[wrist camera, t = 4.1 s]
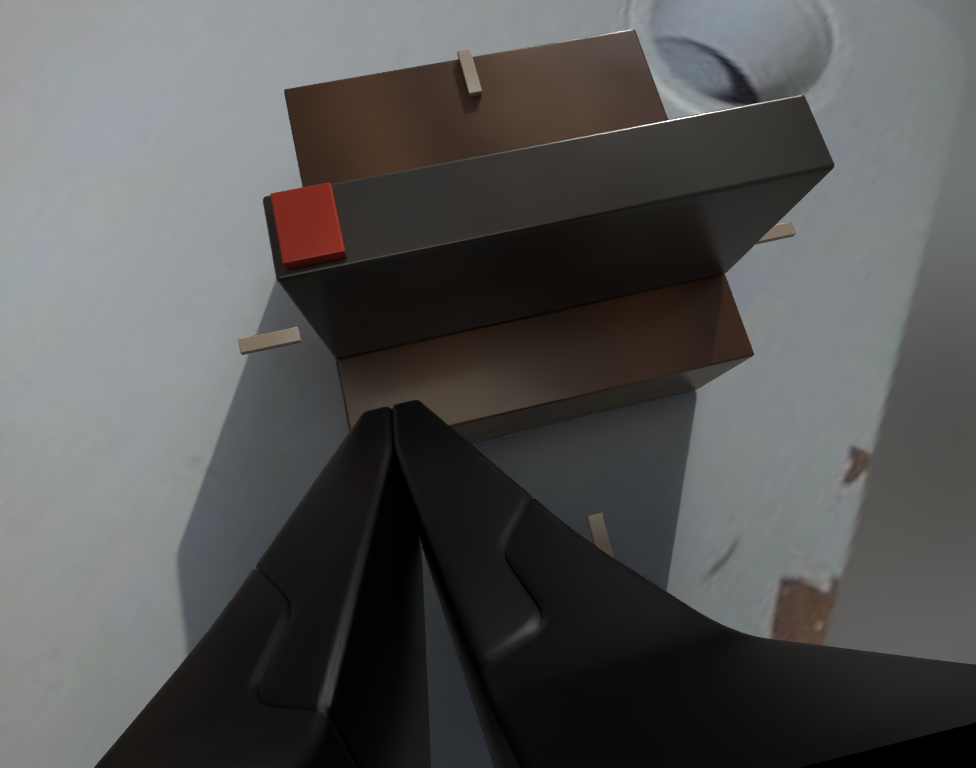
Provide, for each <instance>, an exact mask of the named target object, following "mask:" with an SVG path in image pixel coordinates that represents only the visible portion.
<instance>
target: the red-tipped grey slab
mask: <svg viewBox="0 0 976 768" xmlns="http://www.w3.org/2000/svg"><path fill="white" fill-rule="evenodd" d="M833 168H834V163H833V160H832V158H831V156H830V153H829V151H828V149H827V147H826V144H825V142H824V140H823V137H822V135H821V133H820V130H819V128H818V126H817V124H816V121H815V119H814V117H813V114H812V112H811V110H810V107H809V105H808V103H807V101H806V98H805V96H804V95H797V96H792V97H787V98H782V99H776V100H771V101H766V102H761V103H755V104H750V105H745V106H740V107H734V108H729V109H724V110H718V111H713V112H708V113H703V114H697V115H692V116H687V117H682V118H676V119H671V120H666V121H661V122H655V123H650V124H645V125H640V126H634V127H629V128H624V129H618V130H613V131H608V132H603V133H597V134H592V135H587V136H582V137H576V138H571V139H566V140H561V141H555V142H550V143H545V144H540V145H534V146H529V147H524V148H518V149H513V150H508V151H503V152H497V153H492V154H487V155H482V156H476V157H471V158H466V159H461V160H455V161H450V162H445V163H440V164H434V165H429V166H424V167H418V168H413V169H408V170H403V171H397V172H392V173H387V174H382V175H376V176H371V177H366V178H361V179H355V180H350V181H345V182H340V183H334V184H330V183H324V184H318V185H313V186H308V187H303V188H297V189H292V190H287V191H282V192H276V193H271V195H270V196H266V197H264V198H263V205H264V211H265V216H266V222H267V228H268V234H269V239H270V245H271V251H272V257H273V262H274V268H275V274H276V279H277V281H278V282H279V283H280V285H281V286H282V287H283V289H284V290H285V291H286V293H287V294H288V295H289V297H290V298H291V299H292V301H293V302H294V303H295V305H296V306H297V307H298V309H299V310H300V312H301V313H302V314H303V316H304V317H305V318H306V320H307V321H308V322H309V324H310V325H311V326H312V328H313V329H314V330H315V332H316V333H317V334H318V336H319V337H320V338H321V340H322V341H323V342H324V344H325V345H326V346H327V348H328V349H329V350H330V352H331V353H332V354H333V356H334V357H335V358H340V357H345V356H350V355H354V354H359V353H363V352H368V351H372V350H377V349H381V348H386V347H391V346H395V345H400V344H404V343H409V342H413V341H418V340H423V339H427V338H432V337H436V336H441V335H445V334H450V333H454V332H459V331H464V330H468V329H473V328H477V327H482V326H486V325H491V324H495V323H500V322H505V321H509V320H514V319H518V318H523V317H527V316H532V315H536V314H541V313H546V312H550V311H555V310H559V309H564V308H568V307H573V306H577V305H582V304H587V303H591V302H596V301H600V300H605V299H609V298H614V297H619V296H623V295H628V294H632V293H637V292H641V291H646V290H650V289H655V288H660V287H664V286H669V285H673V284H678V283H682V282H687V281H691V280H696V279H701V278H705V277H710V276H714V275H719V274H723V273H726V272H727V271H729V270H730V269H731V268H732V267H733V266H734V265H735V264H736V263H737V262H738V261H739V260H740V259H741V258H742V257H743V256H744V255H745V254H746V253H747V252H748V251H749V250H750V249H751V248H752V247H753V246H754V245H755V244H756V243H757V242H758V241H759V240H760V239H761V238H762V237H763V236H764V235H765V234H766V233H767V232H768V231H770V230H771V229H772V228H773V227H774V226H775V225H776V224H777V223H778V222H779V221H780V220H781V219H782V218H783V217H784V216H785V215H786V214H787V213H788V212H789V211H790V210H791V209H792V208H793V207H794V206H795V205H796V204H797V203H798V202H799V201H800V200H801V199H802V198H803V197H804V196H805V195H806V194H807V193H808V192H810V191H811V190H812V189H813V188H814V187H815V186H816V185H817V184H818V183H819V182H820V181H821V180H822V179H823V178H824V177H825V176H826V175H827V174H828V173H829V172H830V171H831V170H832V169H833Z"/></svg>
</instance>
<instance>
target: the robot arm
mask: <svg viewBox="0 0 976 768" xmlns="http://www.w3.org/2000/svg"><path fill="white" fill-rule="evenodd" d="M420 540H421V543H422V547H423V550H424V554H425V557H426V561H427V564H428V567H429V570H430V573H431V576H432V579H433V582H434V585H435V588H436V591H437V594H438V597H439V600H440V603H441V606H442V610H443V613H444V616H445V619H446V622H447V625H448V628H449V631H450V634H451V637H452V640H453V643H454V646H455V649H456V652H457V655H458V658H459V661H460V664H461V667H462V670H463V674H464V677H465V680H466V683H467V686H468V689H469V692H470V695H471V698H472V701H473V704H474V707H475V710H476V713H477V716H478V719H479V722H480V725H481V728H482V731H483V734H484V738H485V741H486V744H487V747H488V750H489V753H490V756H491V759H492V762H493V765H494V768H976V665H974V664H963V663H955V662H948V661H940V660H932V659H923V658H915V657H907V656H900V655H893V654H885V653H877V652H869V651H860V650H853V649H845V648H837V647H830V646H822V645H814V644H806V643H798V642H790V641H783V640H775V639H767V638H761V637H755V636H752V635H748V634H745V633H742V632H739V631H737V630H734V629H731V628H729V627H726V626H724V625H722V624H720V623H718V622H716V621H714V620H712V619H710V618H708V617H706V616H705V615H703V614H701V613H699V612H698V611H696V610H694V609H693V608H691V607H690V606H688V605H686V604H685V603H683V602H682V601H680V600H679V599H677V598H676V597H674V596H672V595H671V594H669V593H668V592H666V591H665V590H663V589H662V588H660V587H658V586H657V585H655V584H654V583H652V582H651V581H649V580H647V579H646V578H644V577H643V576H641V575H640V574H638V573H637V572H635V571H633V570H632V569H630V568H629V567H627V566H626V565H624V564H622V563H621V562H619V561H618V560H616V559H615V558H613V557H612V556H610V555H608V554H607V553H606V552H604V551H603V550H601V549H600V548H598V547H597V546H595V545H594V544H592V543H591V542H589V541H588V540H586V539H585V538H583V537H582V536H581V535H579V534H578V533H576V532H575V531H574V530H572V529H571V528H570V527H569V526H567V525H566V524H565V523H564V522H562V521H561V520H560V519H558V518H557V517H556V516H555V515H553V514H552V513H551V512H550V511H549V510H548V509H546V508H545V507H544V506H543V505H542V504H541V503H539V502H538V501H537V500H536V499H533V498H532V496H531V495H530V494H529V493H527V492H526V491H525V490H524V489H523V488H522V487H520V486H519V485H518V484H517V483H516V482H514V481H513V480H512V479H511V478H510V477H509V476H507V475H506V474H505V473H504V472H503V471H502V470H500V469H499V468H498V467H497V466H496V465H495V464H493V463H492V462H491V461H490V460H489V459H488V458H486V457H485V456H484V455H483V454H482V453H481V452H479V451H478V450H477V449H476V448H475V447H473V446H472V445H471V444H470V443H469V442H468V441H466V440H465V439H464V438H463V437H462V436H461V435H459V434H458V433H457V432H456V431H455V430H454V429H452V428H451V427H450V426H449V425H448V424H447V423H445V422H444V421H443V420H442V419H441V418H440V417H438V416H437V415H436V414H435V413H434V412H432V411H431V410H430V409H429V408H428V407H427V406H425V405H424V404H423V403H422V402H421V401H419V400H412V401H408V402H404V403H400V404H396V405H394V406H393V408H392V409H391V408H390V407H382V408H378V409H374V410H369V411H366V412H364V413H363V414H362V415H361V416H360V418H359V419H358V421H357V422H356V423H355V425H354V426H353V428H352V429H351V431H350V432H349V433H348V435H347V436H346V438H345V439H344V441H343V442H342V443H341V445H340V446H339V448H338V449H337V451H336V452H335V453H334V455H333V456H332V458H331V459H330V461H329V462H328V463H327V465H326V466H325V468H324V469H323V471H322V472H321V473H320V475H319V476H318V478H317V479H316V481H315V482H314V483H313V485H312V486H311V488H310V489H309V491H308V492H307V493H306V495H305V496H304V498H303V499H302V501H301V502H300V503H299V505H298V506H297V508H296V509H295V511H294V512H293V513H292V515H291V516H290V518H289V519H288V521H287V522H286V523H285V525H284V526H283V528H282V529H281V531H280V532H279V533H278V535H277V536H276V538H275V539H274V541H273V542H272V543H271V545H270V546H269V548H268V549H267V551H266V552H265V553H264V555H263V556H262V558H261V559H260V561H259V562H258V563H257V565H256V568H257V569H254V570H252V572H251V573H250V574H249V576H248V577H247V579H246V580H245V582H244V583H243V584H242V586H241V587H240V589H239V590H238V592H237V593H236V594H235V596H234V597H233V598H232V600H231V601H230V602H229V604H228V605H227V606H226V608H225V609H224V611H223V612H222V613H221V615H220V616H219V617H218V619H217V620H216V621H215V623H214V624H213V625H212V627H211V628H210V629H209V631H208V632H207V633H206V634H205V635H204V637H203V638H202V639H201V640H200V642H199V643H198V644H197V645H196V647H195V648H194V649H193V650H192V652H191V653H190V654H189V655H188V656H187V658H186V659H185V660H184V661H183V663H182V664H181V665H180V666H179V668H178V669H177V670H176V671H175V672H174V674H173V675H172V676H171V677H170V678H169V679H168V681H167V682H166V683H165V684H164V685H163V687H162V688H161V689H160V690H159V691H158V692H157V694H156V695H155V696H154V697H153V698H152V700H151V701H150V702H149V703H148V704H147V705H146V707H145V708H144V709H143V710H142V711H141V713H140V714H139V715H138V716H137V717H136V718H135V720H134V721H133V722H132V723H131V724H130V726H129V727H128V728H127V729H126V730H125V732H124V733H123V734H122V735H121V736H120V737H119V739H118V740H117V741H116V742H115V743H114V745H113V746H112V747H111V748H110V749H109V750H108V752H107V753H106V754H105V755H104V756H103V758H102V759H101V760H100V761H99V762H98V763H97V765H96V766H95V767H94V768H431V758H430V734H429V711H428V687H427V663H426V640H425V616H424V592H423V569H422V552H421V543H420Z"/></svg>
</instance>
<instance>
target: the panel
mask: <svg viewBox="0 0 976 768" xmlns="http://www.w3.org/2000/svg"><path fill="white" fill-rule="evenodd" d="M457 53H458V60H452V61H447V62H441V63H435V64H429V65H423V66H418V67H412V68H406V69H400V70H394V71H389V72H383V73H377V74H371V75H366V76H360V77H354V78H348V79H342V80H337V81H331V82H325V83H319V84H313V85H308V86H302V87H296V88H290V89H285V90H284V94H285V99H286V104H287V109H288V115H289V120H290V125H291V130H292V135H293V141H294V146H295V151H296V156H297V161H298V166H299V172H300V177H301V182H302V187H308V186H313V185H318V184H324V183H330V184H334V183H340V182H345V181H350V180H355V179H361V178H366V177H371V176H376V175H382V174H387V173H392V172H397V171H403V170H408V169H413V168H418V167H424V166H429V165H434V164H440V163H445V162H450V161H455V160H461V159H466V158H471V157H476V156H482V155H487V154H492V153H497V152H503V151H508V150H513V149H518V148H524V147H529V146H534V145H540V144H545V143H550V142H555V141H561V140H566V139H571V138H576V137H582V136H587V135H592V134H597V133H603V132H608V131H613V130H618V129H624V128H629V127H634V126H640V125H645V124H650V123H655V122H661V121H666V120H668V118H667V115H666V113H665V110H664V107H663V105H662V102H661V99H660V96H659V94H658V91H657V88H656V85H655V83H654V80H653V77H652V75H651V72H650V69H649V66H648V64H647V61H646V58H645V56H644V53H643V50H642V47H641V45H640V42H639V39H638V36H637V34H636V31H635V30H634V29H632V30H626V31H620V32H614V33H609V34H603V35H597V36H591V37H585V38H580V39H574V40H568V41H562V42H557V43H551V44H545V45H539V46H533V47H528V48H522V49H516V50H510V51H504V52H499V53H493V54H487V55H481V56H475V57H472V54H471V51H470V49H467V50H461V51H458V52H457ZM795 234H796V232H795V230H794V227H793V225H792V222H787V223H783V224H778V225H775V226H774V227H773V228H772V229H771V230H770V231H768V232H767V233H766V234H765V235H764V236H763V237H762V238H761V239H760V240H759V241H758V242H757V243H756V244H760V243H765V242H769V241H774V240H778V239H783V238H788V237H792V236H794V235H795ZM238 341H239V348H240V353H241V354H242V355H245V354H249V353H254V352H258V351H263V350H268V349H272V348H277V347H282V346H286V345H291V344H296V343H300V342H301V337H300V331H299V328H298V327H294V328H289V329H284V330H280V331H275V332H270V333H265V334H261V335H256V336H251V337H247V338H242V339H238ZM753 355H754V352H753V350H752V347H751V344H750V341H749V339H748V336H747V333H746V330H745V328H744V325H743V322H742V320H741V317H740V314H739V311H738V309H737V306H736V303H735V301H734V298H733V295H732V292H731V290H730V287H729V284H728V281H727V279H726V276H725V273H723V274H719V275H714V276H710V277H705V278H701V279H696V280H691V281H687V282H682V283H678V284H673V285H669V286H664V287H660V288H655V289H650V290H646V291H641V292H637V293H632V294H628V295H623V296H619V297H614V298H609V299H605V300H600V301H596V302H591V303H587V304H582V305H577V306H573V307H568V308H564V309H559V310H555V311H550V312H546V313H541V314H536V315H532V316H527V317H523V318H518V319H514V320H509V321H505V322H500V323H495V324H491V325H486V326H482V327H477V328H473V329H468V330H464V331H459V332H454V333H450V334H445V335H441V336H436V337H432V338H427V339H423V340H418V341H413V342H409V343H404V344H400V345H395V346H391V347H386V348H381V349H377V350H372V351H368V352H363V353H359V354H354V355H350V356H345V357H340V358H335V359H336V364H337V369H338V374H339V379H340V384H341V390H342V395H343V400H344V405H345V410H346V416H347V421H348V426H349V431H351V429H352V428H353V426H354V425H355V423H356V422H357V421H358V419H359V418H360V416H361V415H362V414H363V413H364V412H366V411H369V410H374V409H378V408H382V407H390V408H391V409H392V408H393V406H394V405H396V404H400V403H404V402H408V401H412V400H419V401H421V402H422V403H423V404H424V405H425V406H427V407H428V408H429V409H430V410H431V411H432V412H434V413H435V414H436V415H437V416H438V417H440V418H441V419H442V420H443V421H444V422H445V423H447V424H448V425H449V426H450V427H451V428H452V429H454V430H455V431H456V432H457V433H458V434H459V435H461V436H462V437H463V438H464V439H465V440H466V441H468V442H469V443H472V442H476V441H481V440H485V439H489V438H493V437H497V436H502V435H506V434H510V433H514V432H518V431H522V430H527V429H531V428H535V427H539V426H543V425H548V424H552V423H556V422H560V421H564V420H569V419H573V418H577V417H581V416H585V415H589V414H594V413H598V412H602V411H606V410H610V409H615V408H619V407H623V406H627V405H631V404H636V403H640V402H644V401H648V400H652V399H656V398H661V397H665V396H669V395H673V394H677V393H682V392H686V391H690V390H694V389H698V388H700V387H702V386H703V385H705V384H707V383H709V382H710V381H712V380H714V379H715V378H717V377H719V376H720V375H722V374H724V373H725V372H727V371H729V370H730V369H732V368H734V367H735V366H737V365H739V364H740V363H742V362H744V361H745V360H747V359H749V358H750V357H752V356H753ZM586 519H587V522H588V526H589V529H590V533H591V537H592V540H593V544H594V545H595V546H597V547H598V548H600V549H601V550H603V551H604V552H606V553H607V554H608V555H610V556H612V557H613V558H615V555H614V552H613V548H612V545H611V541H610V538H609V534H608V531H607V527H606V524H605V520H604V517H603V513H602V512H598V513H594V514H590V515H586Z"/></svg>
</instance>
